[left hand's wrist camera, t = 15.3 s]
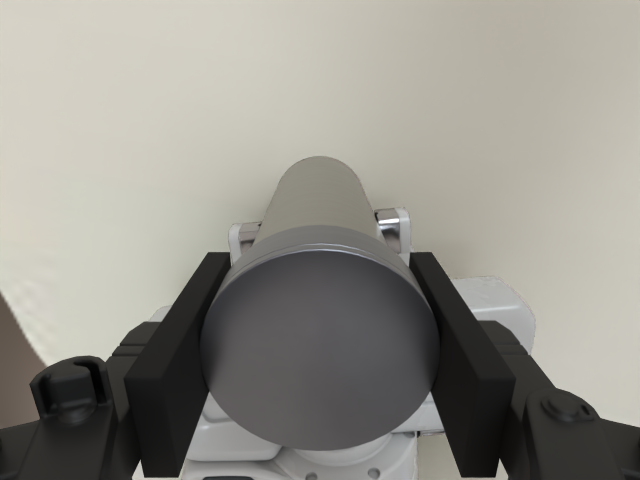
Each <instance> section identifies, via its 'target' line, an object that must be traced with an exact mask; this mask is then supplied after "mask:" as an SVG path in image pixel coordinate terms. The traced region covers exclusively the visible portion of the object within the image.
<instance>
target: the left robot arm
mask: <svg viewBox="0 0 640 480" xmlns="http://www.w3.org/2000/svg"><path fill="white" fill-rule="evenodd" d="M230 268H231V261H230V252H208V253H207V255H206V256H205V258H204V259H203V261H202V262H201V264H200V265H199V267H198V268H197V270H196V271H195V273H194V274H193V276H192V277H191V279H190V280H189V282H188V283H187V285H186V286H185V288H184V289H183V290H182V292H181V293H180V295H179V296H178V298H177V299H176V301H175V302H174V304H173V305H172V307H171V308H170V310H169V311H168V313H167V314H166V316H165V317H164V319H163V320H162V322H143V323H142V324H140V325H139V326H137V327H136V328H134V329H133V330H131V331H130V332H129V333H128V334H127V335H126V336H125V338H124V339H123V340H122V342H121V343H120V346H118V347H117V348H116V349H115V351H114V352H113V353H112V356H110V357H109V358H108V360H107V361H106V362H104V361H103V360H102V359H101V358H99V357H94V356H77V357H73V358H69V359H65V360H62V361H60V362H57V363H55V364H53V365H51V366H49V367H47V368H46V369H44V370H43V371H42V372H40V373H39V374H37V375H36V376H35V378H34V379H33V380H32V381H31V383H30V384H29V385H30V388H31V391H32V394H33V397H34V400H35V404H36V407H37V410H38V413H39V416H40V419H39V420H37V421H34V422H30V423H26V424H22V425H17V426H13V427H8V428H4V429H0V480H132V476H133V474H134V472H135V469H136V467H137V465H138V463H139V461H140V459H141V464H142V469H143V474H144V478H178V477H179V474H180V471H181V469H182V466H183V463H184V460H185V457H186V455H187V452H188V449H189V446H190V444H191V441H192V438H193V435H194V433H195V430H196V427H197V424H198V422H199V419H200V416H201V413H202V411H203V408H204V405H205V402H206V400H207V397H208V394H209V389H208V387H207V385H206V383H205V380H204V377H203V374H202V369H201V362H200V353H199V339H200V332H201V328H202V325H203V322H204V318H205V316H206V314H207V312H208V310H209V308H210V306H211V304H212V302H213V300H214V298H215V296H216V294H217V292H218V290H219V288H220V286H221V284H222V282H223V280H224V278H225V276H226V274H227V273H228V271H229V270H230ZM409 268H410V270H411V272H412V273H413V275H414V276H415V278H416V280H417V282H418V284H419V286H420V288H421V290H422V292H423V294H424V296H425V298H426V300H427V302H428V304H429V306H430V308H431V310H432V312H433V315H434V317H435V319H436V322H437V325H438V329H439V333H440V341H441V350H440V359H439V367H438V374H437V377H436V379H435V382H434V385H433V387H432V389H431V391H430V392H431V395H432V397H433V400H434V403H435V406H436V408H437V411H438V414H439V417H440V420H441V422H442V425H443V428H444V431H445V433H446V436H447V439H448V442H449V444H450V447H451V450H452V453H453V455H454V458H455V461H456V464H457V466H458V469H459V472H460V475H461V477H462V478H495V477H496V472H497V468H498V463H499V458H500V460H501V462H502V464H503V466H504V468H505V470H506V472H507V474H508V480H640V427H635V426H631V425H626V424H622V423H617V422H613V421H609V420H605V419H602V418H600V417H599V415H598V414H597V412H596V411H595V409H594V408H593V407H592V406H591V405H589V404H588V403H587V402H586V401H584V400H583V399H582V398H580V397H578V396H576V395H574V394H572V393H570V392H567V391H564V390H561V389H558V388H556V387H555V386H554V385H553V384H552V382H551V381H550V380H549V379H548V377H547V376H546V375H545V373H544V372H543V371H542V370H541V368H540V367H539V366H538V365H537V363H536V362H535V361H534V359H533V358H532V357H531V356H530V355H528V352H527V350H526V349H525V348H524V347H523V345H520V342H519V340H518V339H517V338H516V336H515V335H514V334H513V333H512V331H511V330H509V329H508V328H506V327H505V326H503V325H502V324H500V323H499V322H497V321H496V320H477V319H476V318H475V316H474V315H473V313H472V312H471V310H470V309H469V307H468V306H467V304H466V303H465V301H464V300H463V298H462V297H461V295H460V294H459V292H458V291H457V289H456V288H455V286H454V285H453V283H452V282H451V280H450V279H449V278H448V276H447V275H446V273H445V272H444V270H443V269H442V267H441V266H440V264H439V263H438V261H437V260H436V258H435V257H434V255H433V254H432V252H410V258H409Z"/></svg>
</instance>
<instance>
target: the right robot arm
mask: <svg viewBox="0 0 640 480" xmlns="http://www.w3.org/2000/svg"><path fill="white" fill-rule="evenodd" d="M374 216H375V218H376V220H377V223H378V225H379V227H380V230H381V232H382V234H383V237H384V239H385V241H386V244H387V246H388V247H389V248H391V249H392V250H393V251H394V252H395V253H397V254H398V255H399V256H400V257H401V259H402V260H403V261H404V262H405V263H406V265H407V266H408V267H409V258H410V252H415V250H414V249H413V247H412V246H411V222H410V217H409V213H408V212H407V210H406V209H405V208H404V207H400V208H390V209H381V210H374ZM261 224H262V222H252V223H239V224H233V225H232V227H231V228H230V230H229V233H228V242H229V247H230V252H231V257H232V262H233V264H234V263H235V262H236V261H237V260H238V259H239V257H240V256H241V255H242V254H243V253H245V252H246V251H247V250H248V249H249V248H251V247H252V245H253V243H254V241H255V238H256V236H257V234H258V231H259V229H260V226H261ZM451 282H452V283H453V285H454V286H455V288H456V289H457V291H458V292H459V294H460V295H461V297H462V298H463V300H464V301H465V303H466V304H467V306H468V307H469V309H470V310H471V312H472V313H473V315H474V316H475V318H476V319H477V320H496V321H497V322H499V323H500V324H502V325H503V326H505V327H506V328H508V329H509V330H511V331H512V333H513V334H514V335H515V336H516V338H517V339H518V340H519V342H520V345H523V347H524V348H525V349H526V350H527V352H528V355H531V351H532V346H533V341H534V335H535V328H536V320H535V316H534V314H533V312H532V310H531V309H530V307H529V306H528V305H527V303H526V302H525V301H524V300H523V299H522V298H521V296H520V295H519V294H518V293H517V292H516V291H515V290H514V289H512V288H511V287H510V286H509V285H508V284H507V283H505V282H504V281H503V280H502V279H500V278H499V277H496V276H484V277H473V278H463V279H452V280H451ZM171 307H172V305H170V306H164V307H161V308H160V309H158V310H157V311H156V312H155V313H154V315H153V316H152V317H151V318H150V319H149V321H148V322H162V320H163V319H164V317H165V316H166V314H167V313H168V311H169V310H170V308H171ZM441 434H446V433H445V431H444V428H443V425H442V422H441V420H440V417H439V414H438V411H437V408H436V406H435V403H434V400H433V397H432V395H431V392H429V394H428V396H427V398H426V399H425V401H424V402H423V403H422V405H421V406H420V407H419V409H418V410H417V411H416V412H415V413H414V414H413V415H412V416H411V417H410V418H409V419H408V420H406V421H405V422H404V423H403V424H401V425H400V426H399V427H398V428H396V429H394V430H393V431H391V432H389V433H388V434H386V435H384V436H382V437H380V438H378V439H376V440H374V441H371V442H368V443H365V444H362V445H359V446H355V447H351V448H347V449H340V450H332V451H309V450H300V449H293V448H288V447H284V446H281V445H277V444H274V443H271V442H269V441H266V440H264V439H261V438H260V437H258V436H256V435H254V434H252V433H250V432H248V431H247V430H245V429H244V428H242V427H241V426H239V425H238V424H237V423H236V422H235V421H233V420H232V419H231V418H230V417H229V416H228V415H227V414H226V413H225V412H224V411H223V410H222V409H221V408H220V407H219V405H218V404H217V402H216V401H215V400H214V398H213V397H212V395H211V393H210V391H209V394H208V397H207V400H206V402H205V405H204V408H203V411H202V413H201V416H200V419H199V422H198V424H197V427H196V430H195V433H194V435H193V438H192V441H191V444H190V446H189V449H188V452H187V455H186V457H185V463H184V468H183V472H182V477H181V480H418V446H417V438H418V437H419V436H422V435H423V436H428V435H441Z"/></svg>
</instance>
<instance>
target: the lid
mask: <svg viewBox="0 0 640 480" xmlns="http://www.w3.org/2000/svg"><path fill="white" fill-rule="evenodd" d="M440 350H441V341H440V333H439V329H438V325H437V322H436V319H435V317H434V315H433V312H432V310H431V308H430V306H429V304H428V302H427V300H426V298H425V296H424V294H423V292H422V290H421V288H420V286H419V284H418V282H417V280H416V278H415V276H414V275H413V273H412V272H411V270H410V268H409V267H408V266H407V265H406V263H405V262H404V261H403V260H402V259H401V257H400V256H398V255H397V254H396V253H395V252H394V251H393V250H392V249H391V248H389V247H388V246H386V245H385V244H383V243H382V242H380V241H379V240H377V239H375V238H373V237H371V236H369V235H367V234H365V233H362V232H359V231H356V230H353V229H349V228H344V227H339V226H331V225H307V226H301V227H295V228H291V229H287V230H284V231H281V232H278V233H275V234H273V235H271V236H269V237H267V238H264V239H263V240H261V241H260V242H258V243H256V244H255V245H253V246H252V247H251V248H249V249H248V250H247V251H246V252H245V253H243V254H242V255H241V256H240V257H239V259H238V260H237V261H236V262H235V263H234V264H233V265H232V267H231V268H230V270H229V271H228V273H227V274H226V276H225V278H224V280H223V282H222V284H221V286H220V288H219V290H218V292H217V294H216V296H215V298H214V300H213V302H212V304H211V306H210V308H209V310H208V312H207V314H206V316H205V318H204V322H203V325H202V328H201V332H200V339H199V353H200V362H201V369H202V374H203V377H204V380H205V383H206V385H207V387H208V389H209V391H210V393H211V395H212V397H213V398H214V400H215V401H216V402H217V404H218V405H219V407H220V408H221V409H222V410H223V411H224V412H225V413H226V414H227V415H228V416H229V417H230V418H231V419H232V420H233V421H235V422H236V423H237V424H238V425H239V426H241V427H242V428H244V429H245V430H247V431H248V432H250V433H252V434H254V435H256V436H258V437H260V438H261V439H264V440H266V441H269V442H271V443H274V444H277V445H281V446H284V447H288V448H293V449H300V450H309V451H332V450H340V449H347V448H351V447H355V446H359V445H362V444H365V443H368V442H371V441H374V440H376V439H378V438H380V437H382V436H384V435H386V434H388V433H389V432H391V431H393V430H394V429H396V428H398V427H399V426H400V425H401V424H403V423H404V422H405V421H406V420H408V419H409V418H410V417H411V416H412V415H413V414H414V413H415V412H416V411H417V410H418V409H419V407H420V406H421V405H422V403H423V402H424V401H425V399H426V398H427V396H428V394H429V392H430V391H431V389H432V387H433V385H434V382H435V379H436V377H437V374H438V367H439V359H440Z"/></svg>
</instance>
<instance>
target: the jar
mask: <svg viewBox="0 0 640 480" xmlns="http://www.w3.org/2000/svg"><path fill="white" fill-rule="evenodd" d="M307 225H331V226H339V227H344V228H349V229H353V230H356V231H359V232H362V233H365V234H367V235H369V236H371V237H373V238H375V239H377V240H379V241H380V242H382V243H383V244H385V245H386V246H387V244H386V241H385V239H384V237H383V234H382V232H381V230H380V227H379V225H378V223H377V220H376V218H375V216H374V213H373V211H372V209H371V206H370V204H369V201H368V199H367V197H366V194H365V192H364V190H363V187H362V185H361V183H360V181H359V179H358V177H357V175H356V174H355V173H354V172H353V170H352V169H350V168H349V167H348V166H347V165H346V164H344V163H342V162H341V161H339V160H336V159H333V158H329V157H322V156H319V157H310V158H306V159H303V160H301V161H299V162H297V163H296V164H294V165H293V166H291V167H290V168H289V169H288V170H287V171H286V172H285V174H284V175H283V177H282V178H281V180H280V182H279V184H278V187H277V189H276V191H275V194H274V196H273V198H272V201H271V203H270V205H269V208H268V210H267V212H266V215H265V217H264V219H263V222H262V224H261V226H260V229H259V231H258V234H257V236H256V238H255V241H254V243H253V245H255V244H256V243H258V242H260V241H261V240H263V239H264V238H267V237H269V236H271V235H273V234H275V233H278V232H281V231H284V230H287V229H291V228H295V227H301V226H307ZM253 245H252V246H253Z"/></svg>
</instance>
